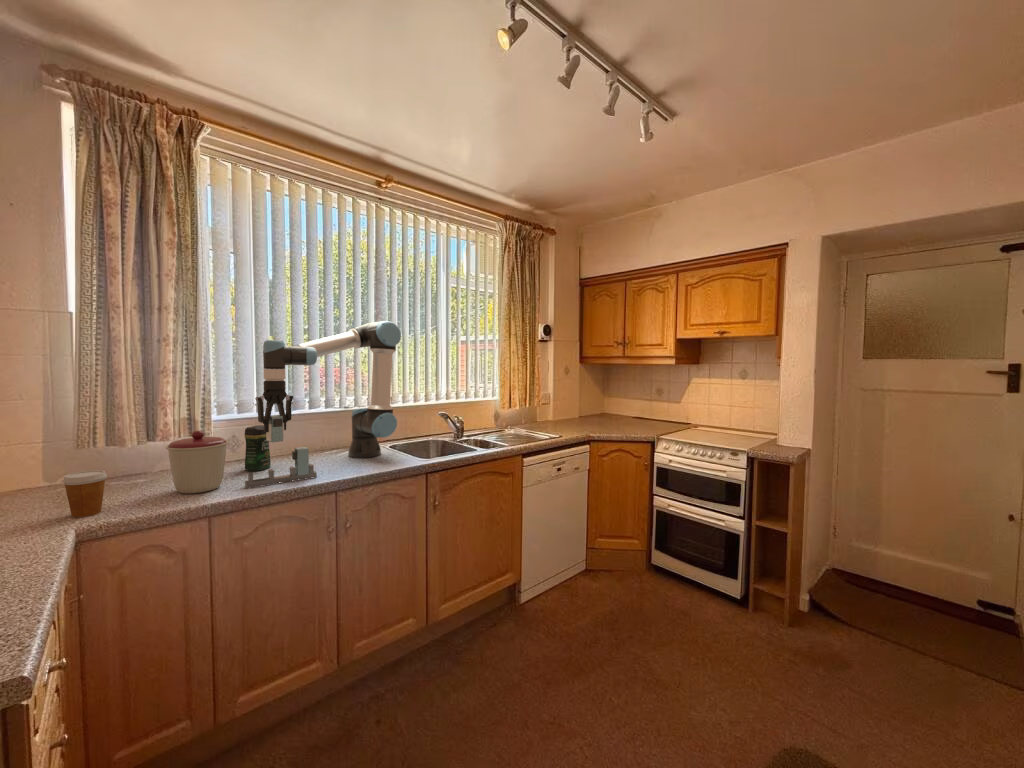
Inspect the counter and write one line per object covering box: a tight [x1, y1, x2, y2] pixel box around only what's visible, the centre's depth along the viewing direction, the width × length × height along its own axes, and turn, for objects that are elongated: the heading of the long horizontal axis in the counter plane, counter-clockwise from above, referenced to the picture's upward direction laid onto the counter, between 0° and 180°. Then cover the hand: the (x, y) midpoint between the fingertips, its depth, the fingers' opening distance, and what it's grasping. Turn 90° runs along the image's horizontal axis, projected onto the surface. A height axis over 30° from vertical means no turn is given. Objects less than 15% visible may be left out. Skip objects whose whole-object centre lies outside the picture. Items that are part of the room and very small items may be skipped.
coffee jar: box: [244, 424, 272, 472], centre depth 184 cm, size 10×8×19 cm
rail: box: [244, 446, 318, 489], centre depth 165 cm, size 24×4×12 cm, turn 130°
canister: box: [165, 430, 230, 494], centre depth 153 cm, size 18×18×21 cm
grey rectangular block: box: [269, 414, 284, 443], centre depth 170 cm, size 5×4×10 cm
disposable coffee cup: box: [61, 469, 108, 518], centre depth 129 cm, size 10×10×12 cm
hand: (275, 439), depth 171 cm, fingers closed on grey rectangular block, 4 cm apart
